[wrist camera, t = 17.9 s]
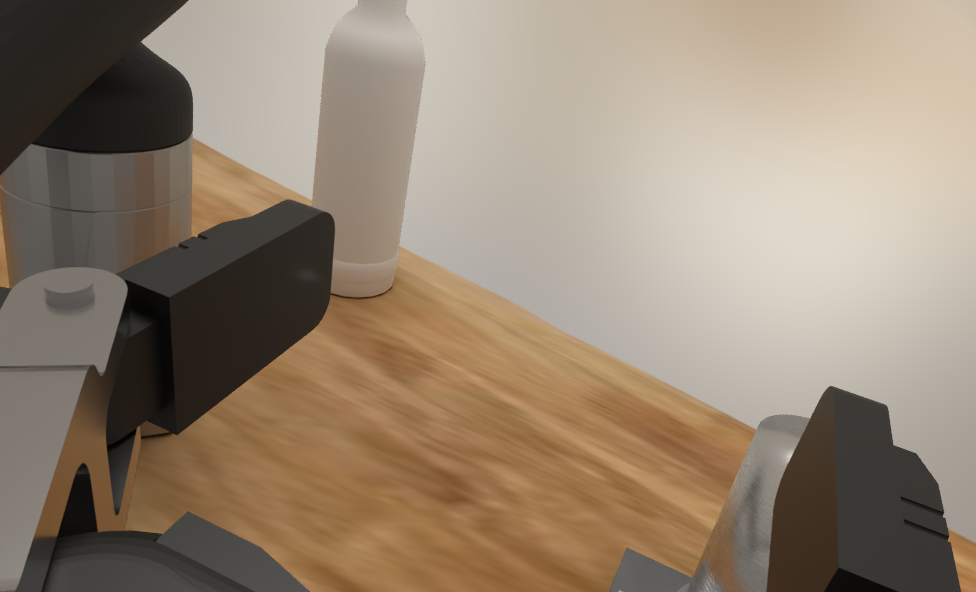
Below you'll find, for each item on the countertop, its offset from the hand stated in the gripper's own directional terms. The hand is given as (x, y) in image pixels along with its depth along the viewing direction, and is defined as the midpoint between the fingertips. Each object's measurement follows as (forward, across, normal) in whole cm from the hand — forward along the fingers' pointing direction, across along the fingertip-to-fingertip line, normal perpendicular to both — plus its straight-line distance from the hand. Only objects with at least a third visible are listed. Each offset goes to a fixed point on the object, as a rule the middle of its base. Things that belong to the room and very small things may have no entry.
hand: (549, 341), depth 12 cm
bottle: (+41, -27, -27) cm, 56 cm away
